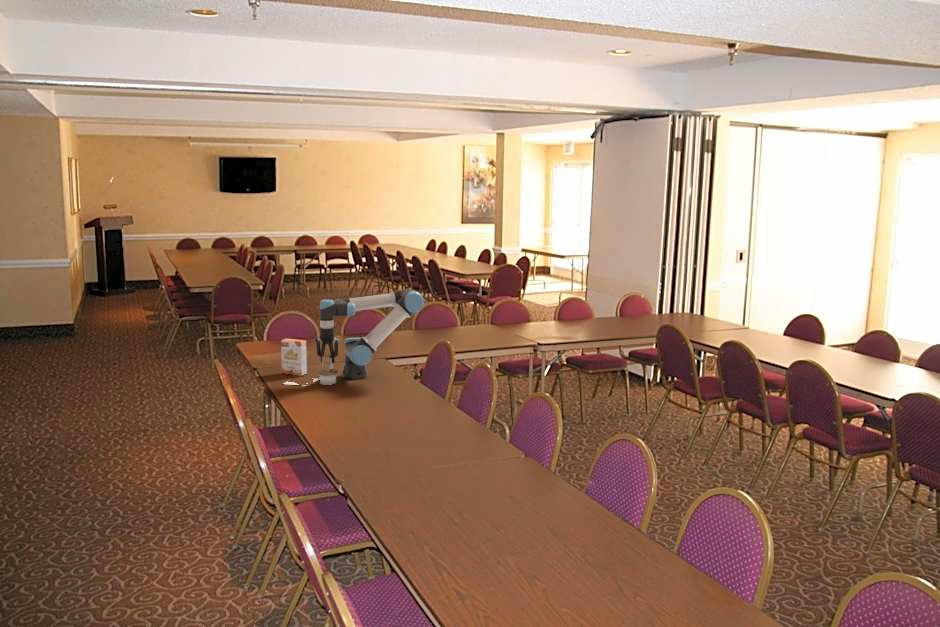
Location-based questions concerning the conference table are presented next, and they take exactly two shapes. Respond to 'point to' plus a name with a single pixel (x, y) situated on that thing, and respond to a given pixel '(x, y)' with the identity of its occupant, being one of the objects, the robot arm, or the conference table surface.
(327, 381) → the bowl
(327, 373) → the lid
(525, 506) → the conference table surface
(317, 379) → the mat
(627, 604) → the conference table surface
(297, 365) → the cracker box
